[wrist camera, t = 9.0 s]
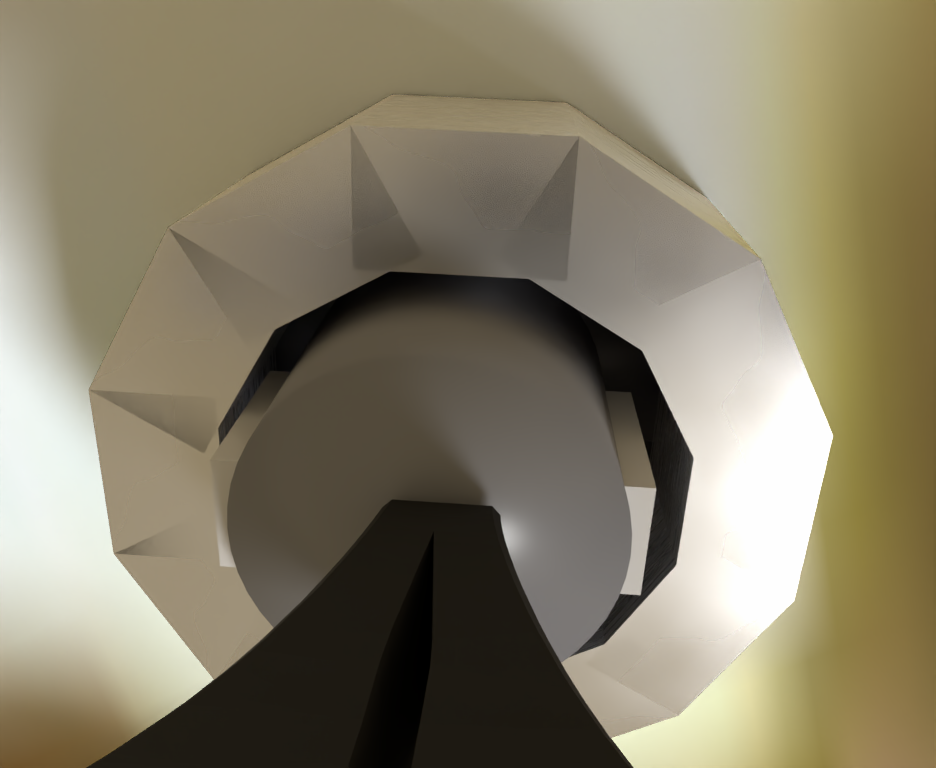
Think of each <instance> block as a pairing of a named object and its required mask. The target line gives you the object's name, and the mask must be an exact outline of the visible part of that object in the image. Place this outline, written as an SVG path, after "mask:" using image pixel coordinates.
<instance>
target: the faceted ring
mask: <svg viewBox="0 0 936 768" xmlns="http://www.w3.org/2000/svg"><path fill="white" fill-rule="evenodd" d="M389 271H395V272H413V273H431V274H449V275H468V276H486V277H504V278H522V279H530V280H531V281H533V282H535V283H536V284H538V285H539V286H541V287H542V288H544V289H546V290H547V291H549V292H550V293H552V294H553V295H555V296H557V297H558V298H560V299H561V300H563V301H565V302H566V303H568V304H569V305H571V306H572V307H574V308H575V309H576V310H577V311H578V313H579V314H580V316H581V317H582V319H583V321H584V322H585V324H586V326H587V328H588V329H589V332H590V334H591V336H592V339H593V341H594V344H595V346H596V350H597V354H598V357H599V361H600V366H601V370H602V375H603V380H604V385H605V390H606V391H616V392H631V395H632V398H633V402H634V406H635V410H636V413H637V417H638V421H639V425H640V428H641V432H642V436H643V440H644V443H645V447H646V451H647V455H648V459H649V462H650V466H651V470H652V474H653V477H654V481H655V485H656V495H655V501H654V508H653V515H652V522H651V528H650V535H649V542H648V548H647V555H646V562H645V569H644V575H643V582H642V589H641V595H630V594H620V595H619V597H618V599H617V601H616V603H615V605H614V606H613V608H612V610H611V612H610V613H609V615H608V617H607V618H606V620H605V621H604V622H603V624H602V625H601V626H600V627H599V629H598V630H597V631H596V632H595V634H594V635H593V636H592V637H591V638H590V639H589V640H588V641H587V642H586V643H585V644H584V645H583V646H582V647H581V648H580V649H579V650H578V651H576V652H575V653H574V654H572V655H571V656H570V657H568V658H567V659H566V660H564V661H563V662H562V665H563V667H564V669H565V670H566V672H567V674H568V675H569V677H570V678H571V680H572V682H573V683H574V685H575V687H576V688H577V690H578V691H579V693H580V694H581V696H582V697H583V699H584V701H585V702H586V704H587V705H588V706H589V708H590V709H591V711H592V712H593V714H594V715H595V717H596V718H597V719H598V721H599V722H600V724H601V725H602V727H603V728H604V729H605V731H606V732H607V734H608V735H609V736H610V738H612V737H615V736H618V735H621V734H624V733H627V732H630V731H633V730H636V729H639V728H642V727H645V726H648V725H651V724H654V723H657V722H660V721H663V720H666V719H669V718H672V717H675V716H678V715H679V714H680V713H681V712H682V711H684V710H685V709H686V708H687V707H688V706H689V705H690V704H691V703H692V702H693V701H694V700H695V699H696V698H697V697H698V696H699V695H700V694H701V693H702V692H703V691H704V690H705V689H706V688H707V687H708V686H709V685H710V684H711V683H712V682H713V681H714V680H715V679H716V678H717V677H718V676H719V675H720V674H721V673H722V672H723V671H724V670H725V669H726V668H727V667H728V666H729V665H730V664H731V663H732V662H733V661H734V660H735V659H736V658H737V657H738V656H739V655H740V654H741V653H742V652H743V651H744V650H745V649H746V648H747V647H748V646H749V645H750V644H751V643H752V642H753V641H754V640H755V639H756V638H757V637H758V636H759V635H760V634H761V633H762V632H763V631H764V630H765V629H766V628H767V627H768V626H769V625H770V624H771V623H772V622H773V621H774V620H775V619H776V618H777V617H778V616H779V615H780V614H781V613H782V612H783V611H784V610H785V609H786V608H787V607H788V606H789V605H790V604H791V603H792V602H793V601H794V599H795V595H796V591H797V586H798V582H799V578H800V574H801V569H802V565H803V561H804V557H805V552H806V548H807V544H808V540H809V535H810V531H811V527H812V523H813V518H814V514H815V510H816V506H817V501H818V497H819V493H820V489H821V484H822V480H823V476H824V472H825V467H826V463H827V459H828V455H829V450H830V446H831V442H832V438H833V434H832V432H831V430H830V427H829V425H828V422H827V420H826V417H825V415H824V412H823V410H822V407H821V405H820V403H819V400H818V398H817V395H816V393H815V390H814V388H813V385H812V383H811V381H810V378H809V376H808V373H807V371H806V368H805V366H804V363H803V361H802V358H801V356H800V354H799V351H798V349H797V346H796V344H795V341H794V339H793V336H792V334H791V332H790V329H789V327H788V324H787V322H786V319H785V317H784V314H783V312H782V309H781V307H780V305H779V302H778V300H777V297H776V295H775V292H774V290H773V287H772V285H771V283H770V280H769V278H768V275H767V273H766V270H765V268H764V265H763V263H762V260H761V259H760V257H759V256H758V255H757V254H756V253H755V252H754V251H753V249H752V248H751V247H750V246H749V245H748V244H747V243H746V242H745V240H744V239H743V238H742V237H741V236H740V235H739V234H738V232H737V231H736V230H735V229H734V228H733V227H732V226H731V225H730V223H729V222H728V221H727V220H726V219H725V218H724V217H723V216H722V214H721V213H720V212H719V211H718V210H717V209H716V208H715V206H714V205H713V204H712V203H711V202H710V201H709V200H708V199H707V198H706V197H705V196H703V195H702V194H700V193H699V192H698V191H696V190H695V189H693V188H692V187H690V186H689V185H687V184H686V183H684V182H683V181H681V180H680V179H678V178H677V177H676V176H674V175H673V174H671V173H670V172H668V171H667V170H665V169H664V168H662V167H661V166H659V165H658V164H656V163H655V162H653V161H652V160H651V159H649V158H648V157H646V156H645V155H643V154H642V153H640V152H639V151H637V150H636V149H634V148H633V147H631V146H630V145H629V144H627V143H626V142H624V141H623V140H621V139H620V138H618V137H617V136H615V135H614V134H612V133H611V132H609V131H608V130H606V129H605V128H604V127H602V126H601V125H599V124H598V123H596V122H595V121H593V120H592V119H590V118H589V117H587V116H586V115H584V114H583V113H582V112H580V111H579V110H577V109H576V108H574V107H573V106H571V105H570V104H568V103H567V102H546V101H525V100H504V99H482V98H461V97H439V96H418V95H397V94H392V95H390V96H389V97H387V98H385V99H383V100H381V101H380V102H378V103H376V104H374V105H372V106H371V107H369V108H367V109H365V110H364V111H362V112H360V113H358V114H356V115H355V116H353V117H351V118H349V119H347V120H346V121H344V122H342V123H340V124H339V125H337V126H335V127H333V128H331V129H330V130H328V131H326V132H324V133H323V134H321V135H319V136H317V137H315V138H314V139H312V140H310V141H308V142H306V143H305V144H303V145H301V146H299V147H298V148H296V149H294V150H292V151H290V152H289V153H287V154H285V155H283V156H282V157H280V158H278V159H276V160H274V161H273V162H271V163H269V164H267V165H265V166H264V167H262V168H260V169H258V170H257V171H255V172H253V173H251V174H249V175H248V176H246V177H245V178H243V179H242V180H240V181H239V182H237V183H235V184H234V185H232V186H231V187H229V188H228V189H226V190H225V191H223V192H222V193H220V194H218V195H217V196H215V197H214V198H212V199H211V200H209V201H208V202H206V203H205V204H203V205H202V206H200V207H198V208H197V209H195V210H194V211H192V212H191V213H189V214H188V215H186V216H185V217H183V218H181V219H180V220H178V221H177V222H175V223H174V224H172V225H171V226H169V227H168V228H167V230H166V232H165V234H164V236H163V238H162V240H161V243H160V245H159V247H158V249H157V251H156V253H155V255H154V257H153V259H152V261H151V263H150V265H149V267H148V269H147V271H146V273H145V275H144V277H143V279H142V281H141V284H140V286H139V288H138V290H137V292H136V294H135V296H134V298H133V300H132V302H131V304H130V306H129V308H128V310H127V312H126V314H125V316H124V318H123V320H122V323H121V325H120V327H119V329H118V331H117V333H116V335H115V337H114V339H113V341H112V343H111V345H110V347H109V349H108V351H107V353H106V355H105V357H104V359H103V361H102V364H101V366H100V368H99V370H98V372H97V374H96V376H95V378H94V380H93V382H92V384H91V386H90V388H89V395H90V402H91V408H92V415H93V421H94V428H95V434H96V441H97V447H98V454H99V461H100V467H101V474H102V480H103V487H104V493H105V500H106V506H107V513H108V519H109V526H110V532H111V539H112V545H113V552H114V554H115V556H116V557H117V558H118V559H119V561H120V562H121V563H122V564H123V566H124V567H125V568H126V570H127V571H128V572H129V573H130V575H131V576H132V577H133V578H134V580H135V581H136V582H137V583H138V585H139V586H140V587H141V588H142V590H143V591H144V592H145V593H146V595H147V596H148V597H149V598H150V600H151V601H152V602H153V603H154V605H155V606H156V607H157V608H158V610H159V611H160V612H161V613H162V615H163V616H164V617H165V619H166V620H167V621H168V622H169V624H170V625H171V626H172V627H173V629H174V630H175V631H176V632H177V634H178V635H179V636H180V637H181V639H182V640H183V641H184V642H185V644H186V645H187V646H188V647H189V649H190V650H191V651H192V652H193V654H194V655H195V656H196V657H197V659H198V660H199V661H200V662H201V664H202V665H203V666H204V667H205V669H206V670H207V671H208V673H209V674H210V675H211V676H212V678H213V679H216V678H217V677H218V676H220V675H221V674H222V673H223V672H224V671H226V670H227V669H228V668H229V667H230V666H232V665H233V664H234V663H235V662H236V661H238V660H239V659H240V658H241V657H242V656H243V655H245V654H246V653H247V652H248V651H249V650H250V649H251V648H253V647H254V646H255V645H256V644H257V643H258V642H259V641H260V640H261V639H263V638H264V637H265V636H266V635H267V634H268V633H269V632H270V631H271V630H272V629H273V627H272V625H271V624H270V623H269V622H268V621H267V619H266V618H265V617H264V616H263V615H262V614H261V612H260V611H259V610H258V608H257V606H256V605H255V603H254V602H253V600H252V599H251V597H250V596H249V594H248V593H247V591H246V589H245V586H244V584H243V582H242V580H241V578H240V576H239V574H238V572H237V568H236V567H224V566H220V559H219V549H218V538H217V527H216V517H215V506H214V495H213V484H212V474H211V463H210V459H211V458H212V456H213V455H214V453H215V452H216V450H217V449H218V447H219V446H220V444H221V443H222V441H223V440H224V438H225V437H226V435H227V434H228V432H229V431H230V429H231V428H232V427H233V425H234V424H235V422H236V421H237V419H238V418H239V416H240V415H241V413H242V412H243V410H244V409H245V407H246V406H247V404H248V403H249V401H250V400H251V398H252V397H253V395H254V394H255V392H256V391H257V389H258V388H259V386H260V385H261V383H262V382H263V380H264V379H265V378H266V376H267V375H268V373H269V372H270V371H285V372H291V371H292V369H293V367H294V366H295V364H296V362H297V361H298V359H299V358H300V356H301V354H302V353H303V351H304V349H305V348H306V346H307V345H308V343H309V341H310V340H311V338H312V336H313V335H314V333H315V332H316V330H317V328H318V327H319V325H320V324H321V322H322V320H323V319H324V317H325V315H326V314H327V312H328V311H329V310H330V308H331V307H332V305H333V304H334V302H335V301H336V300H337V299H338V297H340V296H342V295H344V294H346V293H348V292H350V291H352V290H354V289H356V288H358V287H360V286H362V285H364V284H366V283H368V282H370V281H372V280H374V279H376V278H378V277H380V276H382V275H383V274H385V273H387V272H389Z"/></svg>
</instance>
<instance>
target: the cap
mask: <svg viewBox="0 0 936 768" xmlns="http://www.w3.org/2000/svg"><path fill="white" fill-rule="evenodd" d="M210 463H211V474H212V484H213V495H214V506H215V517H216V527H217V538H218V549H219V559H220V566H224V567H236V568H237V572H238V574H239V576H240V578H241V580H242V582H243V584H244V586H245V589H246V591H247V593H248V594H249V596H250V597H251V599H252V600H253V602H254V603H255V605H256V606H257V608H258V610H259V611H260V612H261V614H262V615H263V616H264V617H265V618H266V619H267V621H268V622H269V623H270V624H271V625H272V627H273V628H274V627H275V626H276V625H277V624H278V623H279V622H280V621H281V620H282V619H283V618H285V617H286V616H287V615H288V614H289V613H290V612H291V611H292V610H293V609H294V608H295V607H296V606H297V605H298V604H299V603H300V602H301V601H302V600H303V599H304V598H305V597H306V596H307V595H308V594H309V593H310V592H311V591H312V590H313V589H314V588H315V586H316V585H317V584H318V583H319V582H320V581H321V580H322V579H323V578H324V577H325V576H326V574H327V573H328V572H329V571H330V570H331V569H332V568H333V567H334V566H335V565H336V564H337V562H338V561H339V560H340V559H341V558H342V557H343V556H344V554H345V553H346V552H347V551H348V550H349V549H350V547H351V546H352V545H353V544H354V543H355V542H356V540H357V539H358V538H359V537H360V535H361V534H362V533H363V532H364V530H365V529H366V528H367V527H368V525H369V524H370V523H371V522H372V520H373V519H374V518H375V516H376V515H377V514H378V512H379V511H380V510H381V508H382V507H383V506H384V505H385V504H387V503H388V502H389V501H390V500H392V499H393V500H409V501H424V502H439V503H455V504H470V505H485V506H493V507H494V508H495V510H496V511H497V512H498V513H499V514H500V515H501V524H502V529H503V534H504V538H505V541H506V545H507V548H508V551H509V554H510V557H511V559H512V562H513V565H514V568H515V570H516V573H517V575H518V578H519V580H520V583H521V585H522V587H523V589H524V591H525V594H526V596H527V598H528V600H529V602H530V604H531V606H532V609H533V611H534V613H535V615H536V617H537V619H538V621H539V623H540V625H541V627H542V629H543V631H544V633H545V635H546V637H547V639H548V641H549V642H550V644H551V646H552V648H553V649H554V651H555V653H556V655H557V656H558V658H559V660H560V662H561V663H562V662H563V661H564V660H566V659H567V658H568V657H570V656H571V655H572V654H574V653H575V652H576V651H578V650H579V649H580V648H581V647H582V646H583V645H584V644H585V643H586V642H587V641H588V640H589V639H590V638H591V637H592V636H593V635H594V634H595V632H596V631H597V630H598V629H599V627H600V626H601V625H602V624H603V622H604V621H605V620H606V618H607V617H608V615H609V613H610V612H611V610H612V608H613V606H614V605H615V603H616V601H617V599H618V597H619V595H620V594H630V595H641V589H642V582H643V575H644V569H645V562H646V555H647V548H648V542H649V535H650V528H651V522H652V515H653V508H654V501H655V495H656V485H655V481H654V477H653V474H652V470H651V466H650V462H649V459H648V455H647V451H646V447H645V443H644V440H643V436H642V432H641V428H640V425H639V421H638V417H637V413H636V410H635V406H634V402H633V398H632V395H631V392H616V391H606V390H605V385H604V380H603V375H602V370H601V366H600V361H599V357H598V354H597V350H596V346H595V344H594V341H593V339H592V336H591V334H590V332H589V329H588V328H587V326H586V324H585V322H584V321H583V319H582V317H581V316H580V314H579V313H578V311H577V310H576V309H575V308H574V307H572V306H571V305H569V304H568V303H566V302H565V301H563V300H561V299H560V298H558V297H557V296H555V295H553V294H552V293H550V292H549V291H547V290H546V289H544V288H542V287H541V286H539V285H538V284H536V283H535V282H533V281H531V280H530V279H522V278H504V277H486V276H468V275H449V274H431V273H413V272H395V271H389V272H387V273H385V274H383V275H382V276H380V277H378V278H376V279H374V280H372V281H370V282H368V283H366V284H364V285H362V286H360V287H358V288H356V289H354V290H352V291H350V292H348V293H346V294H344V295H342V296H340V297H338V299H337V300H336V301H335V302H334V304H333V305H332V307H331V308H330V310H329V311H328V312H327V314H326V315H325V317H324V319H323V320H322V322H321V324H320V325H319V327H318V328H317V330H316V332H315V333H314V335H313V336H312V338H311V340H310V341H309V343H308V345H307V346H306V348H305V349H304V351H303V353H302V354H301V356H300V358H299V359H298V361H297V362H296V364H295V366H294V367H293V369H292V371H291V372H285V371H270V372H269V373H268V375H267V376H266V378H265V379H264V380H263V382H262V383H261V385H260V386H259V388H258V389H257V391H256V392H255V394H254V395H253V397H252V398H251V400H250V401H249V403H248V404H247V406H246V407H245V409H244V410H243V412H242V413H241V415H240V416H239V418H238V419H237V421H236V422H235V424H234V425H233V427H232V428H231V429H230V431H229V432H228V434H227V435H226V437H225V438H224V440H223V441H222V443H221V444H220V446H219V447H218V449H217V450H216V452H215V453H214V455H213V456H212V458H211V459H210Z"/></svg>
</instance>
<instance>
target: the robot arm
mask: <svg viewBox="0 0 936 768" xmlns="http://www.w3.org/2000/svg"><path fill="white" fill-rule="evenodd" d="M87 768H633V767H632V765H631V764H630V763H629V761H628V760H627V759H626V757H625V756H624V755H623V753H622V752H621V751H620V749H619V748H618V747H617V746H616V744H615V743H614V742H613V740H612V739H611V738H610V736H609V735H608V734H607V732H606V731H605V729H604V728H603V727H602V725H601V724H600V722H599V721H598V719H597V718H596V717H595V715H594V714H593V712H592V711H591V709H590V708H589V706H588V705H587V704H586V702H585V701H584V699H583V697H582V696H581V694H580V693H579V691H578V690H577V688H576V687H575V685H574V683H573V682H572V680H571V678H570V677H569V675H568V674H567V672H566V670H565V669H564V667H563V665H562V663H561V662H560V660H559V658H558V656H557V655H556V653H555V651H554V649H553V648H552V646H551V644H550V642H549V641H548V639H547V637H546V635H545V633H544V631H543V629H542V627H541V625H540V623H539V621H538V619H537V617H536V615H535V613H534V611H533V609H532V606H531V604H530V602H529V600H528V598H527V596H526V594H525V591H524V589H523V587H522V585H521V583H520V580H519V578H518V575H517V573H516V570H515V568H514V565H513V562H512V559H511V557H510V554H509V551H508V548H507V545H506V541H505V538H504V534H503V529H502V524H501V515H500V514H499V513H498V512H497V511H496V510H495V508H494V507H493V506H485V505H470V504H455V503H439V502H424V501H409V500H393V499H392V500H390V501H389V502H388V503H387V504H385V505H384V506H383V507H382V508H381V510H380V511H379V512H378V514H377V515H376V516H375V518H374V519H373V520H372V522H371V523H370V524H369V525H368V527H367V528H366V529H365V530H364V532H363V533H362V534H361V535H360V537H359V538H358V539H357V540H356V542H355V543H354V544H353V545H352V546H351V547H350V549H349V550H348V551H347V552H346V553H345V554H344V556H343V557H342V558H341V559H340V560H339V561H338V562H337V564H336V565H335V566H334V567H333V568H332V569H331V570H330V571H329V572H328V573H327V574H326V576H325V577H324V578H323V579H322V580H321V581H320V582H319V583H318V584H317V585H316V586H315V588H314V589H313V590H312V591H311V592H310V593H309V594H308V595H307V596H306V597H305V598H304V599H303V600H302V601H301V602H300V603H299V604H298V605H297V606H296V607H295V608H294V609H293V610H292V611H291V612H290V613H289V614H288V615H287V616H286V617H285V618H283V619H282V620H281V621H280V622H279V623H278V624H277V625H276V626H275V627H274V628H273V629H272V630H271V631H270V632H269V633H268V634H267V635H266V636H265V637H264V638H263V639H261V640H260V641H259V642H258V643H257V644H256V645H255V646H254V647H253V648H251V649H250V650H249V651H248V652H247V653H246V654H245V655H243V656H242V657H241V658H240V659H239V660H238V661H236V662H235V663H234V664H233V665H232V666H230V667H229V668H228V669H227V670H226V671H224V672H223V673H222V674H221V675H220V676H218V677H217V678H216V679H214V680H213V681H212V682H211V683H209V684H208V685H207V686H206V687H204V688H203V689H202V690H201V691H199V692H198V693H197V694H195V695H194V696H193V697H191V698H190V699H189V700H188V701H186V702H185V703H183V704H182V705H181V706H179V707H178V708H176V709H175V710H174V711H172V712H171V713H169V714H168V715H166V716H165V717H163V718H162V719H160V720H159V721H158V722H156V723H155V724H153V725H152V726H150V727H149V728H147V729H146V730H144V731H143V732H141V733H140V734H138V735H137V736H135V737H134V738H132V739H131V740H129V741H128V742H126V743H125V744H123V745H122V746H120V747H119V748H117V749H116V750H114V751H113V752H111V753H110V754H108V755H106V756H105V757H103V758H102V759H100V760H98V761H97V762H95V763H93V764H92V765H90V766H88V767H87Z"/></svg>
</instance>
